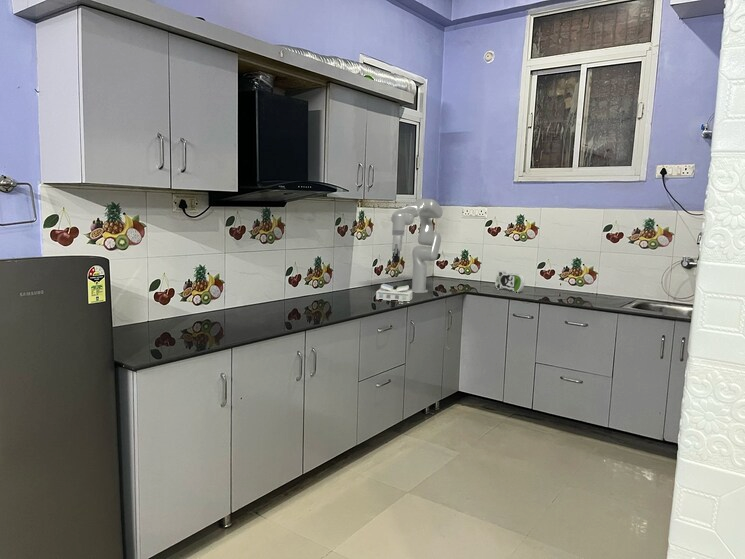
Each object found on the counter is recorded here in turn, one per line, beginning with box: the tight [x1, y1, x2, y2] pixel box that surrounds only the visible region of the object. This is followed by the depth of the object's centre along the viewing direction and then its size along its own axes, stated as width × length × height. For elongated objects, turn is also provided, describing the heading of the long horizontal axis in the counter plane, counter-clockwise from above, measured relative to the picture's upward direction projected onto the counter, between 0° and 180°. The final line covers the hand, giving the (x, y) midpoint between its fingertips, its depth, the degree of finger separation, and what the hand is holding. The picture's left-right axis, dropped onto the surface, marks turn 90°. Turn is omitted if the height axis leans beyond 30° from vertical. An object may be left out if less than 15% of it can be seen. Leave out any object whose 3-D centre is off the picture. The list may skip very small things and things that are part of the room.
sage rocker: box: [396, 284, 410, 291], centre depth 349 cm, size 6×7×2 cm
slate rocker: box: [380, 283, 394, 291], centre depth 351 cm, size 6×7×2 cm
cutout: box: [494, 270, 525, 293], centre depth 404 cm, size 15×3×25 cm
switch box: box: [375, 287, 414, 302], centre depth 350 cm, size 13×21×6 cm, turn 78°
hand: (396, 262), depth 349 cm, fingers closed
